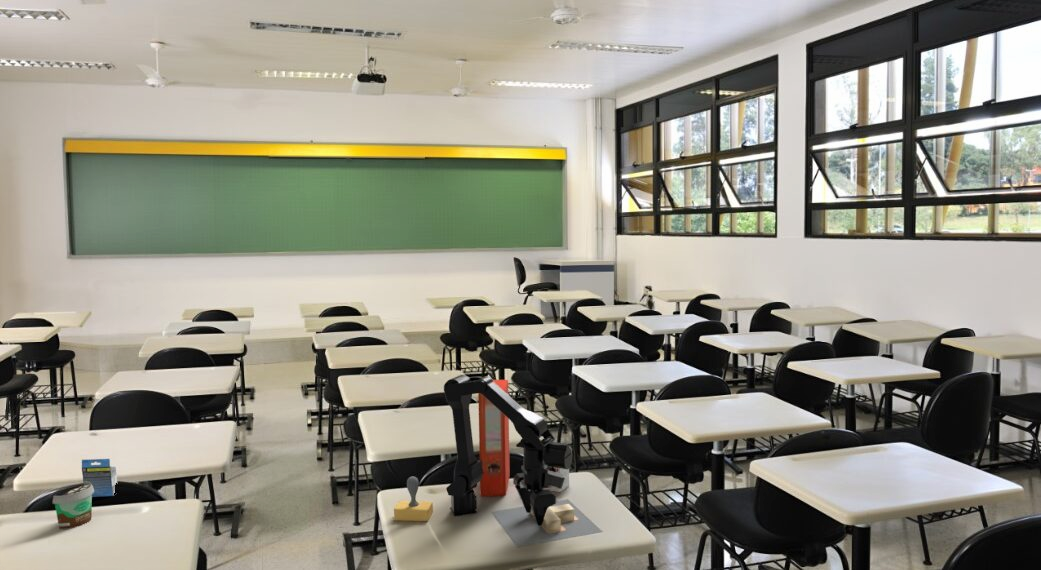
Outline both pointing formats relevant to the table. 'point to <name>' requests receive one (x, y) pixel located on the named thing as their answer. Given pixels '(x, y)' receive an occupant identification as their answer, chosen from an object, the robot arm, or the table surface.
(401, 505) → the rubber stamp
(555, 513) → the t block
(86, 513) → the food container
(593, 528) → the mat
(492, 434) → the file binder
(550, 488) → the light bulb box
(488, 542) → the table surface
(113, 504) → the table surface
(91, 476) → the label tape box
